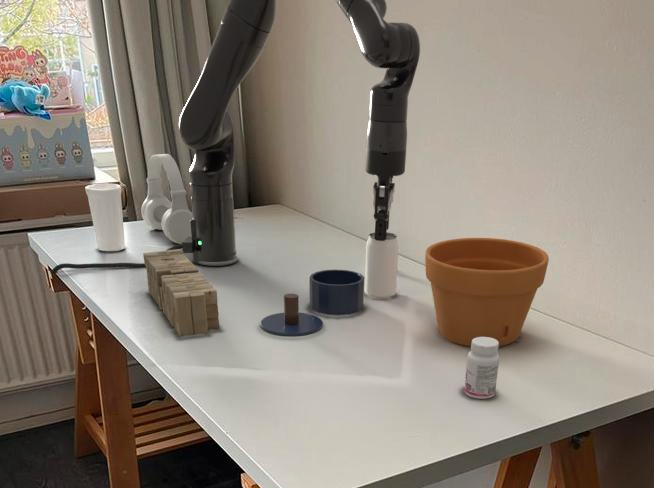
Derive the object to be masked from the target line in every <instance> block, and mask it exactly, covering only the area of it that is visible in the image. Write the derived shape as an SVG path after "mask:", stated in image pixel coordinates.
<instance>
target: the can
mask: <svg viewBox="0 0 654 488" xmlns="http://www.w3.org/2000/svg"><path fill="white" fill-rule="evenodd" d="M397 237H398V235H397V234H396V233H393V232H386V240H385V241H377V240H375V232H371V233H369V234H368V238H367V241H366V242H365V243H366V245H365V269H364V272H365V273H364V295H367V296H370V297H375V298H389V297H393V296H396V294H397V282H398V281H397V280H398V266H399V265H398V264H399V242H398V239H397Z"/></svg>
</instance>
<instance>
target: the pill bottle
mask: <svg viewBox="0 0 654 488" xmlns="http://www.w3.org/2000/svg"><path fill="white" fill-rule="evenodd" d="M498 345H499V342H498V341H497V340H496V339H494V338H490V337H477V338H474V339H473V340H472V343H471V347H470V351H469V352H468V354H467V359H466V369H465V377H464V378H465V379H464V387H463V389H464V393H465V395H466V396H468V397H470V398H473V399H478V400H479V399H480V400H487V399H490V398H493V397H494V396H495V394H496V391H497V389H496V388H497V380H498V373H499V365H500V355H499V353H498V352H499V347H498Z"/></svg>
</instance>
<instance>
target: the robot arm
mask: <svg viewBox="0 0 654 488" xmlns="http://www.w3.org/2000/svg"><path fill="white" fill-rule="evenodd" d="M335 2H336V4H337V5H338V7H339V8H340V9H341V11H342V13H343V14H344V16H345V17H346V18H347V20H348V21H349V23H350V24H351V26H352V29H353V33H354V36H355V39H356V42H357V45H358V47H359V50H360V52H361V54H362V56H363V58H364V59H365V60H366V62H367V63H368V64H370V66H372V67H374V68H376V69H386V71H385V73H384V77H383V79H382V80H381V81H379V82H378V83H376V84H374V85H373V86H372V87H371V89H370V92H369V106H368V122H367V123H368V124H367V129H366V145H365V166H364V167H365V168H364V170H365V172H366V173H367V174H369V175H372V176H377V181H375V182H374V184H373V188H372V192H373V193H372V194H373V204H372V207H373V209H374V213H373V219H374V223H375V224H374V233H375V240H377V241H385V240H386V232H387V230H389V227H390V226H389V225H390V211H391V210H392V204H393V202H394V195H395V188H396V183H395V182H393V179H394V177H399V176H403V175H404V174H405V172H406V162H407V161H406V159H407V158H406V157H407V145H408V125H407V124H408V121H407V120H408V107H409V95H410V91H411V89H412V87H413V83H414V79H415V75H416V72H417V67H418V64H419V61H420V57H421V56H420V55H421V42H420V37H419V34H418V31H417V30H416V28H415V27H414V26H413V25H412V24H410V23H408V22H389V21H388V22H387V21H386V20H385V19H384V18H385V16H386V15H387V9H388V6H387V1H386V0H335ZM276 14H277V0H229V1H228V2H227V6H226V8H225V10H224V12H223V16H222V18H221V20H220V23H219V26H218V29H217V31H216V35H215V37H214V40H213V42H212V44H211V47H210V50H209V52H208V55H207V58H206V61H205V64H204V66H203V70H202V71H201V75H200V76H199V79H198V81H197V83H196V85H195V87H194V88H193V90H192V92H191V94H190V96H189V98H188V100H187V102H186V104H185V106H184V107H183V109H182V112H181V114H180V116H179V122H178V130H179V134H180V137H181V138H180V139H181V140H182V142H183V143H184V144H185V146H186V147H187V148H189V149H190V150H193V151H194V158H193V162H192V164H191V166H190V168H189V170H188V177H189V179H188V180H189V189H190V201H191V212H192V216H193V219H191V220H190V225H191V237H187V238H186V239H185V240H184V241H183V242H182V244H177V245H173V246H171V247H169V248H167V249H165V251H167V250H176V249H181V250H182V254H192V260H193V264H198V265H202V266H205V267H225V266H229V265H232V264H235V263H237V261H238V256H237V243H236V226H235V207H234V191H233V190H234V189H233V172H234V168H235V129H234V122H233V118H232V115H231V113H230V110H229V109H228V107H229V105H230V102H231V100H232V97H233V96H234V93H235V92H236V90H237V89H238V87H239V86H240V84H241V83H242V82H243V81H244V79H245V78H246V77H247V75H248V74H249V73H250V71H251V70H252V68H253V67H254V66H255V64H256V63H257V62H258V60H259V59H260V56H261V54H262V53H263V51H264V49H265V46H266V44H267V41H268V40H269V37H270V35H271V33H272V30H273V28H274V25H275V21H276V16H277V15H276ZM112 268H113V269H114V268H116V269H117V268H133V269H138V268H139V269H140V268H141V269H142V268H146V266H145V263H144V262H141V263H140V262H138V263H137V262H105V263H104V262H102V263H101V262H100V263H95V262H94V263H70V262H69V263H67V262H65V263H59V264H57V265H56V266H54V267H53V268H52V269H51V271H50V274H56V273H58V271H61V270H62V269H72V270H73V269H75V270H79V269H81V270H83V269H112Z"/></svg>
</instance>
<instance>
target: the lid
mask: <svg viewBox="0 0 654 488" xmlns="http://www.w3.org/2000/svg"><path fill="white" fill-rule="evenodd" d="M299 307H300V306H299V295H298V294H297V293H286V294H284V295H283V312H278V313H273V314H270V315H267V316H264V317H263V318H262V319H261V320H260V323H259V324H260V325H259V326H260V328H261V329H262V330H263V331H264V332H266V333H268V334H271V335H276V336H282V337H300V336H307V335H311V334H315V333H317V332H319V331H320V330H322V328H323V326H324V323H323V319H321V318H320V317H318V316H317V315H313V314H311V313H305V312H300V311H299Z"/></svg>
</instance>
